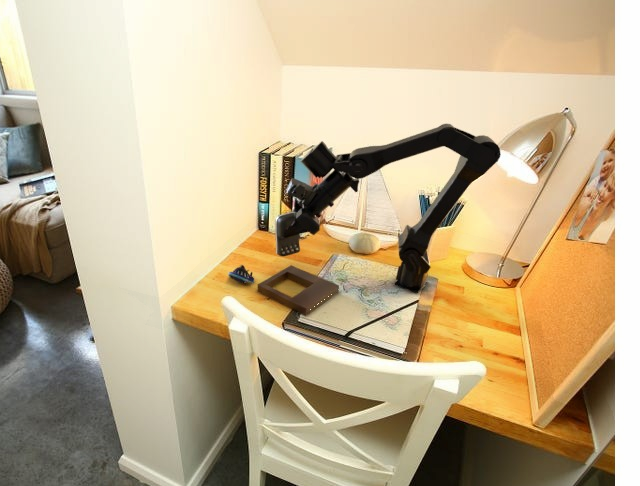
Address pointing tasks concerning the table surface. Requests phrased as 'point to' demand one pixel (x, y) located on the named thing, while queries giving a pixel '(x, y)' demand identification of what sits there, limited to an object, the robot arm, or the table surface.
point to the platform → (306, 298)
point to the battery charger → (285, 244)
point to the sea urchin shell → (364, 243)
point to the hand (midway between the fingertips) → (284, 231)
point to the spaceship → (241, 275)
